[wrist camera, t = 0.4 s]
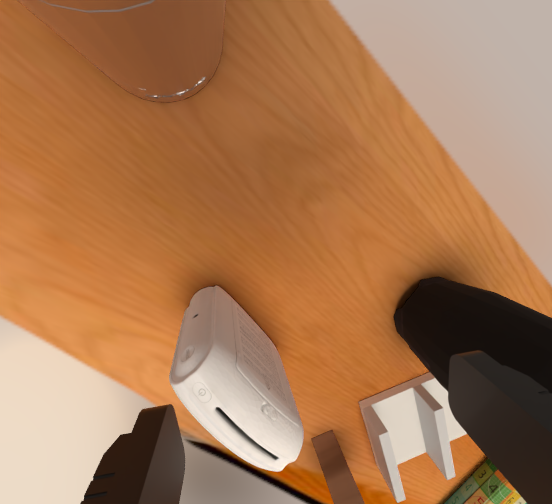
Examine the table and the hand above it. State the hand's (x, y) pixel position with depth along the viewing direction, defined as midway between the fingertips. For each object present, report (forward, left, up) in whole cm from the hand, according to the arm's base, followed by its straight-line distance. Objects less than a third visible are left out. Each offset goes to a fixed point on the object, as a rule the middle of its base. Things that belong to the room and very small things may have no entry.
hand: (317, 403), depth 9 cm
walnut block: (+26, 0, -19) cm, 33 cm away
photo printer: (+7, -4, -20) cm, 21 cm away
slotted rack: (+26, +15, -19) cm, 36 cm away
